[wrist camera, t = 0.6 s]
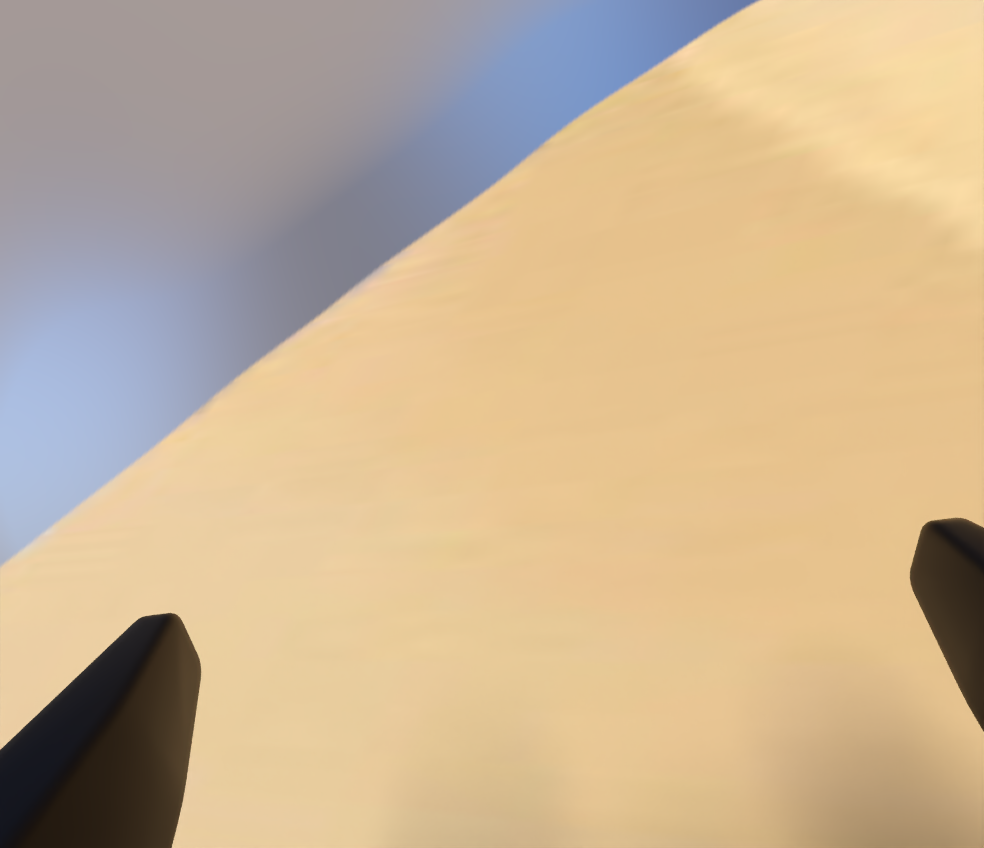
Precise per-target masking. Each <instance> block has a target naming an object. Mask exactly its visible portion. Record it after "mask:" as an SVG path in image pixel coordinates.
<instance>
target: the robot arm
mask: <svg viewBox="0 0 984 848" xmlns="http://www.w3.org/2000/svg"><path fill="white" fill-rule="evenodd" d="M910 581H911V586H912V589H913V592H914V594H915V596H916V598H917V600H918V602H919V605H920V607H921V609H922V611H923V613H924V615H925V617H926V619H927V621H928V623H929V625H930V628H931V630H932V632H933V634H934V636H935V638H936V640H937V642H938V644H939V646H940V649H941V651H942V653H943V655H944V657H945V659H946V661H947V663H948V665H949V667H950V669H951V672H952V674H953V676H954V678H955V680H956V682H957V684H958V686H959V688H960V690H961V692H962V694H963V696H964V698H965V700H966V702H967V704H968V706H969V707H970V709H971V711H972V712H973V714H974V716H975V718H976V719H977V721H978V723H979V724H980V726H981V728H982V729H983V731H984V528H983V527H981V526H979V525H977V524H975V523H973V522H971V521H969V520H966V519H963V518H951V519H942V520H934V521H930V522H927V523H926V524H925V525H924V526H923V527H922V530H921V533H920V536H919V540H918V544H917V547H916V551H915V555H914V558H913V562H912V566H911V570H910ZM200 680H201V665H200V660H199V657H198V654H197V652H196V650H195V648H194V646H193V644H192V641H191V639H190V637H189V635H188V633H187V630H186V628H185V626H184V624H183V622H182V620H181V619H180V617H179V616H178V615H176V614H172V613H167V614H159V615H151V616H145V617H142V618H140V619H138V620H137V621H136V622H134V623H133V624H132V625H131V626H130V627H129V628H128V629H127V630H126V631H125V632H124V633H123V634H122V635H121V636H120V637H119V638H118V639H116V640H115V641H114V642H113V643H112V644H111V645H110V646H109V647H108V648H107V649H106V650H105V651H104V652H103V653H102V654H101V655H100V656H99V657H98V658H96V659H95V660H94V661H93V662H92V663H91V664H90V665H89V666H88V667H87V668H86V669H85V670H84V671H83V672H82V673H81V674H80V675H79V676H78V677H77V678H75V679H74V680H73V681H72V682H71V683H70V684H69V685H68V686H67V687H66V688H65V689H64V690H63V691H62V692H61V693H60V694H59V695H58V696H57V697H55V698H54V699H53V700H52V701H51V702H50V703H49V704H48V705H47V706H46V707H45V708H44V709H43V710H42V711H41V712H40V713H39V714H38V715H37V716H36V717H34V718H33V719H32V720H31V721H30V722H29V723H28V724H27V725H26V726H25V727H24V728H23V729H22V730H21V731H20V732H19V733H18V734H17V735H16V736H14V737H13V738H12V739H11V740H10V741H9V742H8V743H7V744H6V745H5V746H4V747H3V748H2V749H1V750H0V848H172V844H173V840H174V836H175V832H176V828H177V824H178V820H179V815H180V811H181V807H182V802H183V797H184V791H185V785H186V779H187V772H188V765H189V758H190V751H191V744H192V737H193V730H194V722H195V715H196V708H197V701H198V694H199V687H200Z"/></svg>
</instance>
